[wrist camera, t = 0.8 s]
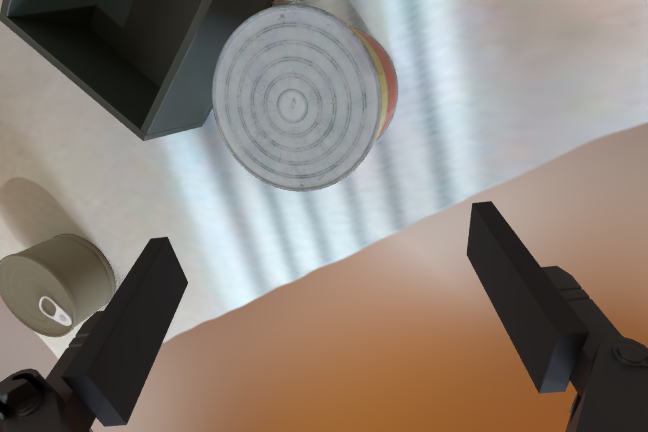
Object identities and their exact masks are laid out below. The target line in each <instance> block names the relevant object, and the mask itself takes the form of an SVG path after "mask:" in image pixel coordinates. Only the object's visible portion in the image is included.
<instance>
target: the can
mask: <svg viewBox="0 0 648 432" xmlns="http://www.w3.org/2000/svg"><path fill="white" fill-rule="evenodd" d="M114 293H115V278H114V274H113V271H112V269H111V267H110V265H109V263H108V261H107V260H106V258H105V257H104V256H103V254H102V253H101V252H100V251H99V250H98V249H97V248H96V247H95V246H94V245H92V244H91V243H90V242H88V241H87V240H85V239H83V238H81V237H79V236H76V235H71V234H62V235H58V236H55V237H53V238H52V239H49V240H47V241H44V242H42V243H40V244H38V245H35V246H33V247H31V248H28V249H26V250H24V251H21V252H19V253H16V254H11V255H9V256H6V257H4V258H3V259H2V260H1V261H0V295H1V297H2V299H3V301H4V302H5V304H6V305H7V307H8V308H9V309H10V311H11V312H12V313H13V314H14V315H15V316H16V317H17V318H18V319H19V320H20V321H21V322H22V323H23V324H25V325H26V326H27V327H29V328H30V329H32V330H33V331H35V332H37V333H39V334H42V335H45V336H49V337H62V336H64V335H66V334H68V333H69V332H71V331H72V330H73V328H74V327H75V326H77V325H78V324H79V323H81V322H82V321H83V320H85V319H86V318H87V317H89V316H90V315H91V314H93V313H94V312H96V311H97V310H98V309H99V308H101V307H102V306H104V305H105V304H107V303H108V302H109V301H110V300H111V299H112V297H113V295H114Z"/></svg>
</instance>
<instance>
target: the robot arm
mask: <svg viewBox="0 0 648 432" xmlns="http://www.w3.org/2000/svg"><path fill="white" fill-rule="evenodd" d="M467 256H468V258H469V260H470V262H471V264H472V266H473V268H474V270H475V272H476V274H477V275H478V277H479V279H480V281H481V283H482V285H483V287H484V289H485V291H486V293H487V295H488V296H489V298H490V300H491V302H492V304H493V306H494V308H495V310H496V312H497V314H498V316H499V317H500V319H501V321H502V323H503V325H504V327H505V329H506V331H507V333H508V335H509V337H510V339H511V341H512V343H513V344H514V346H515V348H516V350H517V352H518V354H519V356H520V358H521V360H522V362H523V364H524V365H525V367H526V369H527V371H528V373H529V375H530V377H531V379H532V381H533V383H534V385H535V387H536V388H537V390H538V392H539V393H551V392H565V390H566V388H567V385H568V383H569V381H571V383H572V384H573V386H574V387H575V389H576V391H577V392H578V393H577V395H576V397H575V400H574V402H573V404H572V407H571V409H570V411H569V412H571V415H570V419H569V422H568V425H567V429H566V432H648V348H647V347H645V346H644V345H642V344H641V343H639V342H637V341H634V340H632V339H629V338H625V337H623V336H622V335H621V334H620V333H619V332H618V331H617V329H616V328H615V327H614V326H613V324H612V323H611V322H610V321H609V320H608V318H607V317H606V316H605V315H604V314H603V312H602V311H601V310H600V309H599V308H598V306H597V305H596V304H595V303H594V302H593V300H592V299H590V298H589V296H588V295H587V293H586V292H585V291H584V290H582V289H581V286H580V285H579V284H578V282H577V281H576V280H575V279H574V278H573V276H572V275H570V274H569V273H567V272H566V271H564V270H563V269H561V268H559V267H558V266H550V267H540V266H539V264H538V263H537V262H536V260H535V259H534V258H533V256H532V255H531V254H530V252H529V251H528V250H527V248H526V247H525V246H524V244H523V243H522V242H521V240H520V239H519V238H518V236H517V235H516V234H515V232H514V231H513V230H512V228H511V227H510V226H509V224H508V223H507V222H506V220H505V219H504V218H503V217H502V215H501V214H500V212H499V211H498V210H497V208H496V207H495V206H494V204H493V203H492V202H491V201H490V202H480V203H473V204H472V211H471V220H470V228H469V237H468V246H467ZM187 284H188V281H187V279H186V277H185V274H184V272H183V270H182V268H181V266H180V263H179V261H178V259H177V257H176V255H175V252H174V250H173V248H172V246H171V244H170V241H169V239H168V237H162V238H153V239H150V241H149V242H148V244H147V245H146V247H145V248H144V250H143V251H142V253H141V254H140V256H139V258H138V259H137V261H136V262H135V264H134V265H133V267H132V268H131V270H130V271H129V273H128V274H127V276H126V278H125V279H124V281H123V282H122V284H121V285H120V287H119V288H118V290H117V291H116V293H115V295H114V296H113V298H112V299H111V301H110V302H109V304H108V305H107V307H106V308H105V310H104V311H98V312H96V313H94V314H93V315H92V316H91V317H90V318H89V319H88V320H87V321H86V322H84V324H83V325H82V327H81V328H80V329H79V331H78V332H77V334H76V337H75V338H73V340H72V341H71V343H70V344H69V348H67V349H66V350H65V351H64V353H63V354H62V356H61V357H60V359H59V360H58V362H57V363H56V365H55V366H54V368H53V369H52V370H51V372H50V374H49V375H48V376H47V378H46V379H44V378H43V377H42V376H41V374H40V373H39V372H38V371H37V370H34V369H25V370H21V371H19V372H16V373H14V374H12V375H10V376H9V377H7V378H6V379H4V380H3V381H1V382H0V432H93V431H92V429H91V426H92V424H93V422H94V420H95V418H97V419H98V420H99V421H100V422H101V423H102V424H103V426H118V425H127V423H128V421H129V418H130V416H131V414H132V411H133V409H134V407H135V404H136V402H137V400H138V397H139V395H140V393H141V390H142V388H143V386H144V384H145V381H146V379H147V377H148V374H149V372H150V370H151V367H152V365H153V363H154V361H155V358H156V356H157V354H158V351H159V349H160V346H161V344H162V342H163V340H164V337H165V335H166V333H167V331H168V328H169V326H170V324H171V321H172V319H173V317H174V314H175V312H176V310H177V307H178V305H179V303H180V301H181V298H182V296H183V294H184V291H185V289H186V287H187Z"/></svg>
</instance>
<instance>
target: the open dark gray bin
mask: <svg viewBox="0 0 648 432" xmlns="http://www.w3.org/2000/svg"><path fill="white" fill-rule="evenodd" d="M273 1H274V0H3V2H2V6H1V12H0V21H1V22H3V23H4V24H5V25H6V26H7V27H9V28H10V29H11V30H12V31H13V32H15V33H16V34H17V35H18V36H19V37H20V38H22V39H23V40H24V41H25V42H26V43H28V44H29V45H30V46H31V47H32V48H33V49H35V50H36V51H37V52H38V53H39V54H41V55H42V56H43V57H44V58H45V59H47V60H48V61H49V62H50V63H51V64H52V65H54V66H55V67H56V68H57V69H58V70H60V71H61V72H62V73H63V74H64V75H66V76H67V77H68V78H69V79H70V80H71V81H73V82H74V83H75V84H76V85H77V86H79V87H80V88H81V89H82V90H83V91H85V92H86V93H87V94H88V95H89V96H90V97H92V98H93V99H94V100H95V101H96V102H98V103H99V104H100V105H101V106H102V107H104V108H105V109H106V110H107V111H108V112H109V113H111V114H112V115H113V116H114V117H115V118H117V119H118V120H119V121H120V122H121V123H123V124H124V125H125V126H126V127H127V128H128V129H130V130H131V131H132V132H133V133H134V134H136V135H137V136H138V137H139V138H140V139H141V140H143V141H146V140H150V139H154V138H158V137H162V136H166V135H170V134H174V133H178V132H182V131H186V130H190V129H194V128H197V127H202V125H203V123H204V122H205V120H206V118H207V116H208V115H209V113H210V111H211V109H212V108H213V100H212V86H213V77H214V71H215V68H216V64H217V61H218V58H219V55H220V53H221V51H222V49H223V47H224V45H225V44H226V42H227V40H228V39H229V37H230V36H231V35H232V33H233V32H234V31H235V30H236V29H237V28H238V27H239V26H240V25H241V24H242V23H243V22H244V21H246V20H247V19H248V18H250V17H251V16H253V15H255V14H256V13H258V12H260V11H262V10H265V9H267V8H270V6H271V5H272V3H273Z"/></svg>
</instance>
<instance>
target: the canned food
mask: <svg viewBox="0 0 648 432" xmlns="http://www.w3.org/2000/svg"><path fill="white" fill-rule="evenodd" d="M397 98H398V83H397V77H396V73H395V69H394V66H393V64H392V61H391V60H390V58H389V56H388V54H387V53H386V51H385V50H384V49H383V47H382V46H381V45H380V44H379V43H378V42H377V41H376V40H375V39H373V38H372V37H371V36H369V35H368V34H366V33H364V32H362V31H360V30H358V29H355V28H352V27H350V26H348V25H347V24H345V23H344V22H343V21H341V20H340V19H338V18H337V17H335V16H334V15H332V14H330V13H328V12H326V11H324V10H321V9H318V8H315V7H311V6H307V5H299V4H286V5H279V6H274V7H271V8H267V9H265V10H262V11H260V12H258V13H256V14H255V15H253V16H251V17H250V18H248V19H247V20H246V21H244V22H243V23H242V24H241V25H240V26H239V27H238V28H237V29H236V30H235V31H234V32H233V33H232V35H231V36H230V37H229V39H228V40H227V42H226V44H225V45H224V47H223V49H222V51H221V53H220V55H219V58H218V61H217V64H216V68H215V71H214V77H213V86H212V100H213V109H214V115H215V119H216V123H217V126H218V128H219V131H220V134H221V136H222V138H223V140H224V142H225V144H226V146H227V147H228V149H229V150H230V152H231V153H232V155H233V156H234V157H235V159H236V160H237V161H238V162H239V163H240V164H241V165H242V166H243V167H244V168H245V169H246V170H247V171H248V172H250V173H251V174H252V175H253V176H255V177H256V178H258V179H260V180H261V181H263V182H265V183H267V184H269V185H272V186H274V187H277V188H280V189H284V190H289V191H314V190H319V189H322V188H326V187H329V186H331V185H333V184H335V183H337V182H339V181H341V180H342V179H344V178H345V177H347V176H348V175H349V174H351V173H352V172H353V171H354V170H355V169H356V168H357V167H358V166H359V165H360V164H361V162H362V161H363V160H364V158H365V157H366V156H367V154H368V152H369V151H370V149H371V147H372V145H373V144H374V143H375V141H376V140H377V139H378V138H379V137H380V136H381V135H382V134H383V133H384V131H385V130H386V129H387V127H388V125H389V124H390V122H391V120H392V117H393V115H394V112H395V109H396V104H397Z"/></svg>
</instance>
